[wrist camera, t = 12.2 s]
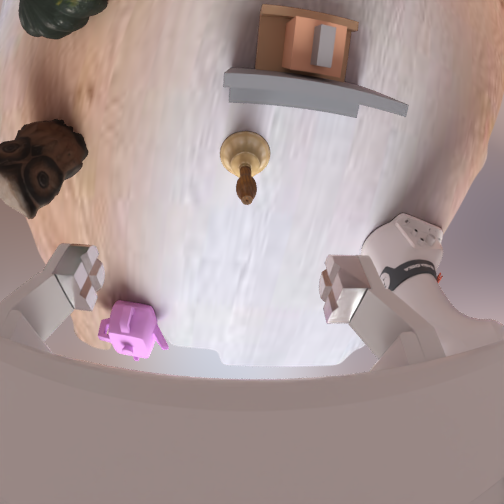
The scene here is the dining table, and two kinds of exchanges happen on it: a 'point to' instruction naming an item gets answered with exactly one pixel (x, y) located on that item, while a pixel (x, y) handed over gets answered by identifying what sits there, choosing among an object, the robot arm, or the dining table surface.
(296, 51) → the tall peach box
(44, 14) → the squash
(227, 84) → the board
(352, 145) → the dining table surface
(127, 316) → the teakettle
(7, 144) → the owl
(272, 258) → the dining table surface
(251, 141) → the hand bell
